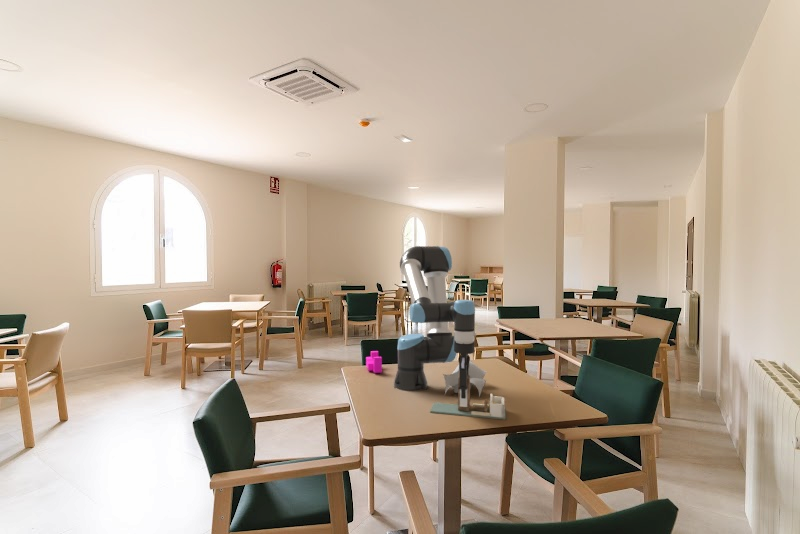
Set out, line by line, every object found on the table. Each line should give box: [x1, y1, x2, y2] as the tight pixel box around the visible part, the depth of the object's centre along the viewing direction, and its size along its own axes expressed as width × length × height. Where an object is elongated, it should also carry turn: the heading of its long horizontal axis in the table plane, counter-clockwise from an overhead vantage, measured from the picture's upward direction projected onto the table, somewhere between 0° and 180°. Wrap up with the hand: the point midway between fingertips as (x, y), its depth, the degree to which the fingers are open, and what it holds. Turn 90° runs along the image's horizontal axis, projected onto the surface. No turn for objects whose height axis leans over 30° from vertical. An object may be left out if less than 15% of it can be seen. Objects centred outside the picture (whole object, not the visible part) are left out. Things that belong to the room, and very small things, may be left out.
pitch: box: [429, 401, 507, 421], centre depth 148 cm, size 27×9×2 cm, turn 76°
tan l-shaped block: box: [457, 375, 489, 413], centre depth 148 cm, size 10×6×12 cm, turn 76°
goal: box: [489, 393, 505, 418], centre depth 145 cm, size 5×9×5 cm, turn 166°
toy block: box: [365, 350, 383, 374], centre depth 206 cm, size 15×6×8 cm, turn 11°
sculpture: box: [442, 360, 487, 398], centre depth 176 cm, size 25×19×10 cm
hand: (464, 403), depth 148 cm, fingers closed on tan l-shaped block, 4 cm apart
